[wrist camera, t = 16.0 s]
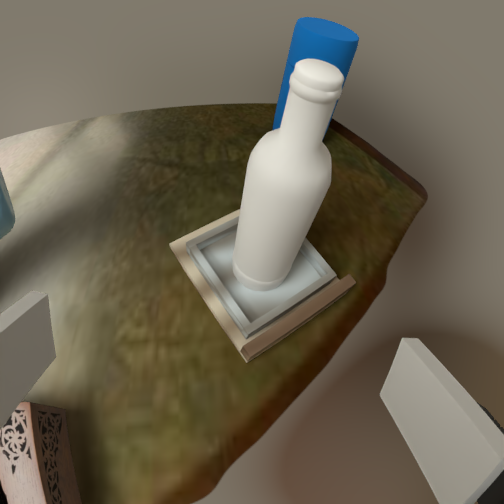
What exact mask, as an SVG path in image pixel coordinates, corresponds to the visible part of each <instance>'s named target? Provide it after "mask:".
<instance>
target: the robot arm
mask: <svg viewBox="0 0 504 504" xmlns="http://www.w3.org/2000/svg"><path fill="white" fill-rule="evenodd" d="M14 223H15V213H14V210H13V206H12V203H11V199H10V196H9V193H8V190H7V187H6V184H5V181H4V178H3V175H2V172H1V169H0V239H1V238H3V237H4V236H5V235H6V234H8V233H9V232H10V231H11V229H12V228H13V226H14ZM55 358H56V353H55V347H54V340H53V334H52V326H51V318H50V310H49V300H48V294H46V293H42V292H37V291H33V290H32V291H30V292H29V293H28V294H26V295H25V296H23V297H22V298H21V299H19V300H18V301H17V302H15V303H14V304H13V305H11V306H10V307H9V308H7V309H6V310H5V311H3V312H2V313H1V314H0V430H1V429H2V427H3V426H4V424H5V423H6V422H7V420H8V419H9V417H10V416H11V415H12V413H13V412H14V411H15V409H16V408H17V407H18V405H19V404H20V403H21V401H22V400H23V399H24V397H25V396H26V395H27V393H28V392H29V391H30V389H31V388H32V387H33V385H34V384H35V383H36V382H37V380H38V379H39V378H40V377H41V375H42V374H43V373H44V371H45V370H46V369H47V368H48V366H49V365H50V364H51V363H52V361H53V360H54V359H55ZM380 397H381V398H382V400H383V402H384V404H385V405H386V407H387V409H388V411H389V412H390V414H391V416H392V418H393V419H394V421H395V423H396V425H397V427H398V428H399V430H400V432H401V433H402V436H403V437H404V439H405V441H406V443H407V445H408V446H409V448H410V450H411V452H412V453H413V455H414V457H415V459H416V461H417V462H418V464H419V466H420V468H421V470H422V472H423V474H424V476H425V478H426V479H427V481H428V483H429V485H430V487H431V489H432V491H433V493H434V495H435V497H436V498H437V500H438V502H439V504H474V503H475V502H476V501H477V502H478V504H504V429H503V428H502V427H500V424H499V423H498V422H497V421H496V420H494V418H493V416H492V415H491V414H490V413H489V412H488V410H487V409H486V408H484V407H483V406H481V405H480V404H479V403H477V402H476V401H475V400H474V399H473V398H472V397H471V396H470V395H469V394H468V392H467V391H466V390H465V389H464V388H463V387H462V386H461V385H460V383H459V382H458V381H457V380H456V379H455V378H454V377H453V376H452V375H451V373H450V372H449V371H448V370H447V369H446V368H445V367H444V366H443V365H442V364H441V362H440V361H439V360H438V359H437V358H436V357H435V356H434V355H433V354H432V353H431V352H430V351H429V350H428V348H426V346H425V345H424V344H423V343H422V342H421V341H420V340H419V339H418V338H402V340H401V342H400V346H399V348H398V350H397V353H396V356H395V358H394V361H393V364H392V366H391V368H390V371H389V373H388V376H387V378H386V380H385V383H384V385H383V388H382V390H381V392H380Z"/></svg>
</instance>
